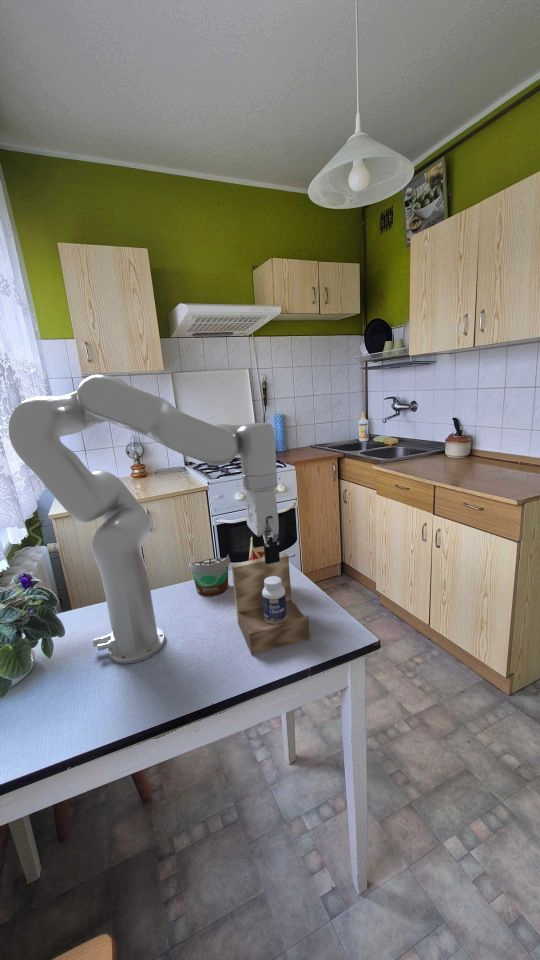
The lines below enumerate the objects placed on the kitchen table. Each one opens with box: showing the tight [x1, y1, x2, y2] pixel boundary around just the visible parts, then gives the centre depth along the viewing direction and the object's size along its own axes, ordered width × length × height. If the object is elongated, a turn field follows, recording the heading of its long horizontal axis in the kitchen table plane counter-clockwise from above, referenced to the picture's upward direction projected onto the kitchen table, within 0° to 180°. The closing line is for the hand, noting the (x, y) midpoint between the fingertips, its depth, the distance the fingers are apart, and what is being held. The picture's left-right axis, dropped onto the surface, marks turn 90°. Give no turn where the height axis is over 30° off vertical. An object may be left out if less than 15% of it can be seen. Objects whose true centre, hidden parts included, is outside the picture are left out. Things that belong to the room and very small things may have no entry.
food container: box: [188, 555, 231, 598], centre depth 111 cm, size 12×6×10 cm, turn 104°
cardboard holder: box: [230, 552, 311, 656], centre depth 90 cm, size 14×13×16 cm
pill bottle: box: [262, 576, 287, 624], centre depth 89 cm, size 5×5×10 cm
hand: (265, 554), depth 87 cm, fingers open, 9 cm apart
